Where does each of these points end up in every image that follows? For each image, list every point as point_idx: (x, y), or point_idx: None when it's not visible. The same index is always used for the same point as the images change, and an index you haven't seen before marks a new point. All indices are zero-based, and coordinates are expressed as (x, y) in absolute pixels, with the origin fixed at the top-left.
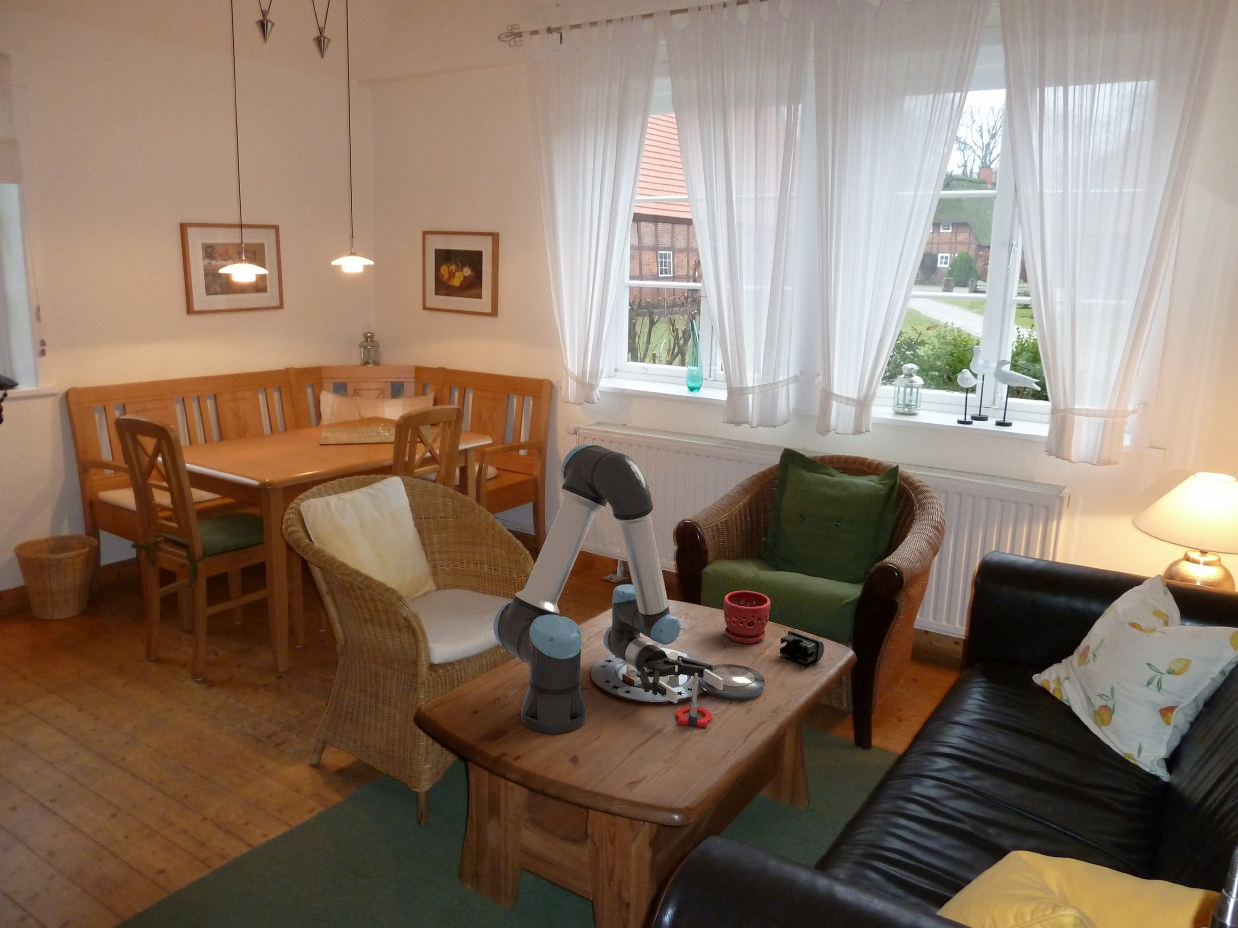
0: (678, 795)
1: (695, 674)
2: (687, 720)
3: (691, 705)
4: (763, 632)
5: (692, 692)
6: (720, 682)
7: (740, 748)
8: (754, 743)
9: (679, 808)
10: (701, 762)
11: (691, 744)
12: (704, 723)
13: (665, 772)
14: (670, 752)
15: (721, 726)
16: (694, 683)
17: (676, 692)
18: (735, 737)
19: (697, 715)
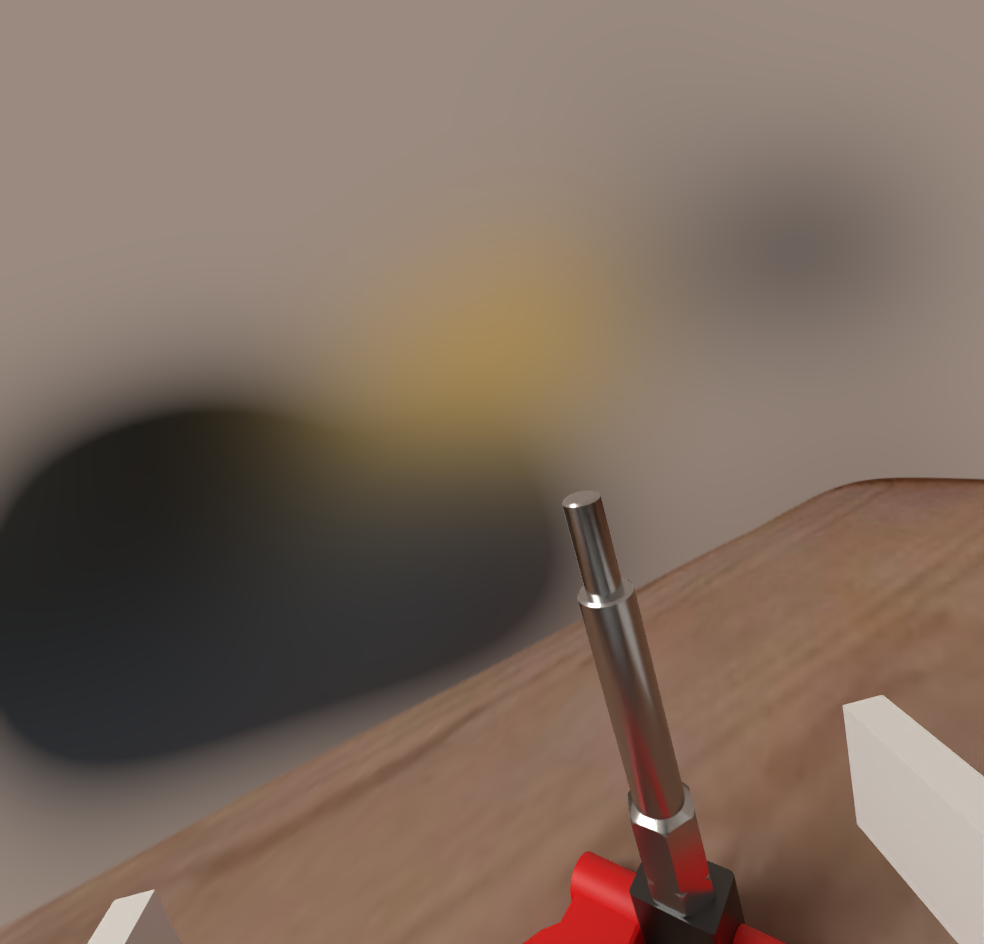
0: (863, 507)
1: (597, 495)
2: (746, 928)
3: (689, 794)
4: None
5: (658, 691)
6: (168, 926)
7: (526, 674)
8: (443, 698)
9: (861, 483)
10: (743, 612)
11: (766, 721)
12: (604, 858)
13: (928, 570)
14: (914, 671)
15: (480, 876)
16: (627, 583)
17: (866, 707)
18: (487, 748)
19: (640, 874)
